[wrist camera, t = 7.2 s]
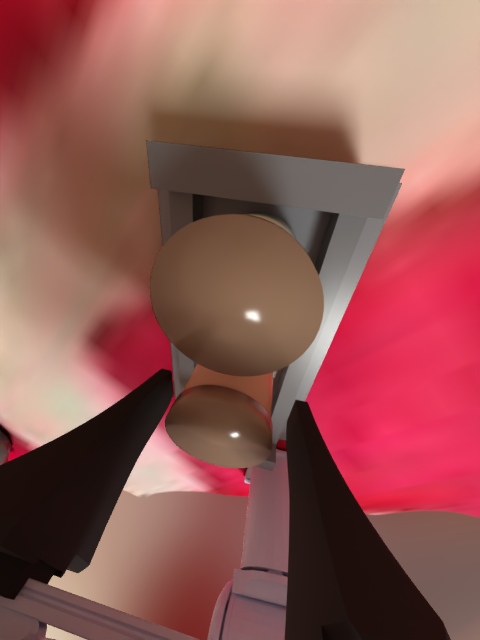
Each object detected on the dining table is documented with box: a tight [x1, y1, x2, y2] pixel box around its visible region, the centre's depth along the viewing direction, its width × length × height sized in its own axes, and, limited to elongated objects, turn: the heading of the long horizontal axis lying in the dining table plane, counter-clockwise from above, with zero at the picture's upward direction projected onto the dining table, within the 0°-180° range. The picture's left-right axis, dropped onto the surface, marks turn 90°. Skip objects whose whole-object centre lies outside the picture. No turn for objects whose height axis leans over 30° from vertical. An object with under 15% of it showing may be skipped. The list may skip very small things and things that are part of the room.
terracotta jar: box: [165, 364, 273, 468], centre depth 12 cm, size 5×5×7 cm
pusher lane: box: [146, 140, 405, 471], centre depth 14 cm, size 22×12×4 cm, turn 173°
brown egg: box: [150, 212, 324, 376], centre depth 9 cm, size 5×5×7 cm
